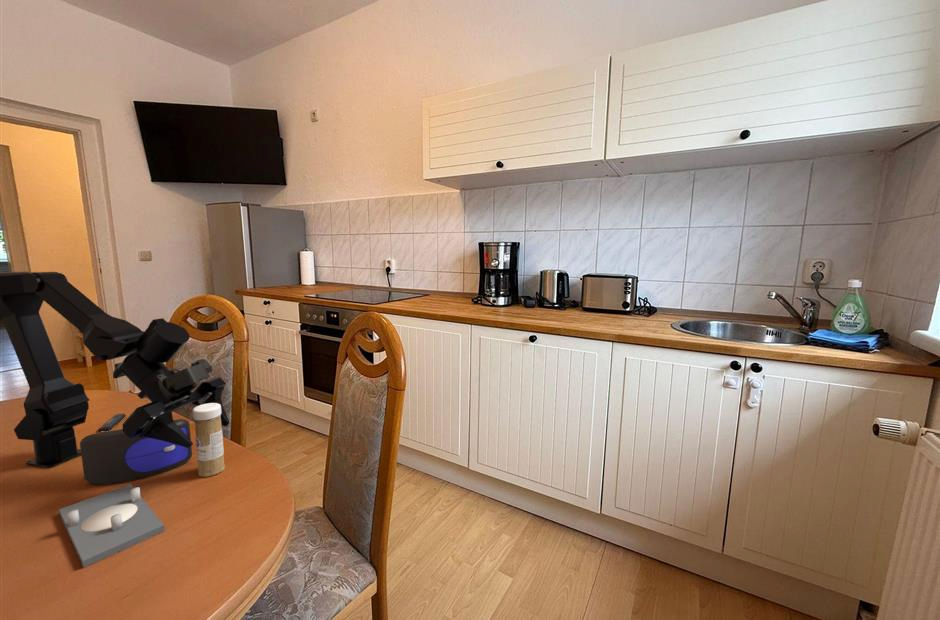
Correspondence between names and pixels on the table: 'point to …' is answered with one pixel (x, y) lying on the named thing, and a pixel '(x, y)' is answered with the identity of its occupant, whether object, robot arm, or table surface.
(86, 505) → the pin board
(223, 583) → the table surface
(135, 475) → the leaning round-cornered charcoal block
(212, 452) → the sprinkles bottle
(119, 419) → the usb stick
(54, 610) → the table surface
